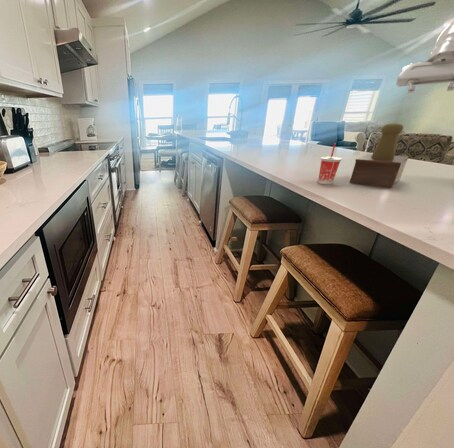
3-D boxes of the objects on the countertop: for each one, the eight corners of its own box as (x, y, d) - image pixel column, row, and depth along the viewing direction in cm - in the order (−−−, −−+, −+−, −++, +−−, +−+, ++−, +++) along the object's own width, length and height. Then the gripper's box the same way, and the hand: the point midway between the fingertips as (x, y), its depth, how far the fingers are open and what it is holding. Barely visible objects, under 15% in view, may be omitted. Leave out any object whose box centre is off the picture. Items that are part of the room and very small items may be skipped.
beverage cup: (331, 180, 91) (341, 142, 86) (337, 185, 86) (349, 144, 80) (313, 180, 93) (322, 142, 87) (318, 184, 88) (328, 144, 82)
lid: (400, 165, 76) (401, 162, 76) (355, 161, 84) (355, 159, 84) (407, 158, 84) (408, 156, 84) (365, 155, 93) (366, 153, 92)
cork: (378, 159, 82) (390, 124, 77) (367, 156, 87) (377, 123, 83) (398, 158, 81) (411, 123, 76) (386, 156, 86) (397, 123, 82)
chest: (391, 188, 80) (400, 164, 77) (349, 182, 88) (355, 161, 85) (399, 180, 88) (407, 159, 84) (359, 176, 96) (365, 156, 93)
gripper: (405, 57, 90) (390, 86, 88) (495, 44, 75) (479, 78, 73) (402, 72, 94) (388, 100, 92) (487, 62, 79) (472, 95, 78)
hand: (429, 90), depth 83 cm, fingers open, 8 cm apart
